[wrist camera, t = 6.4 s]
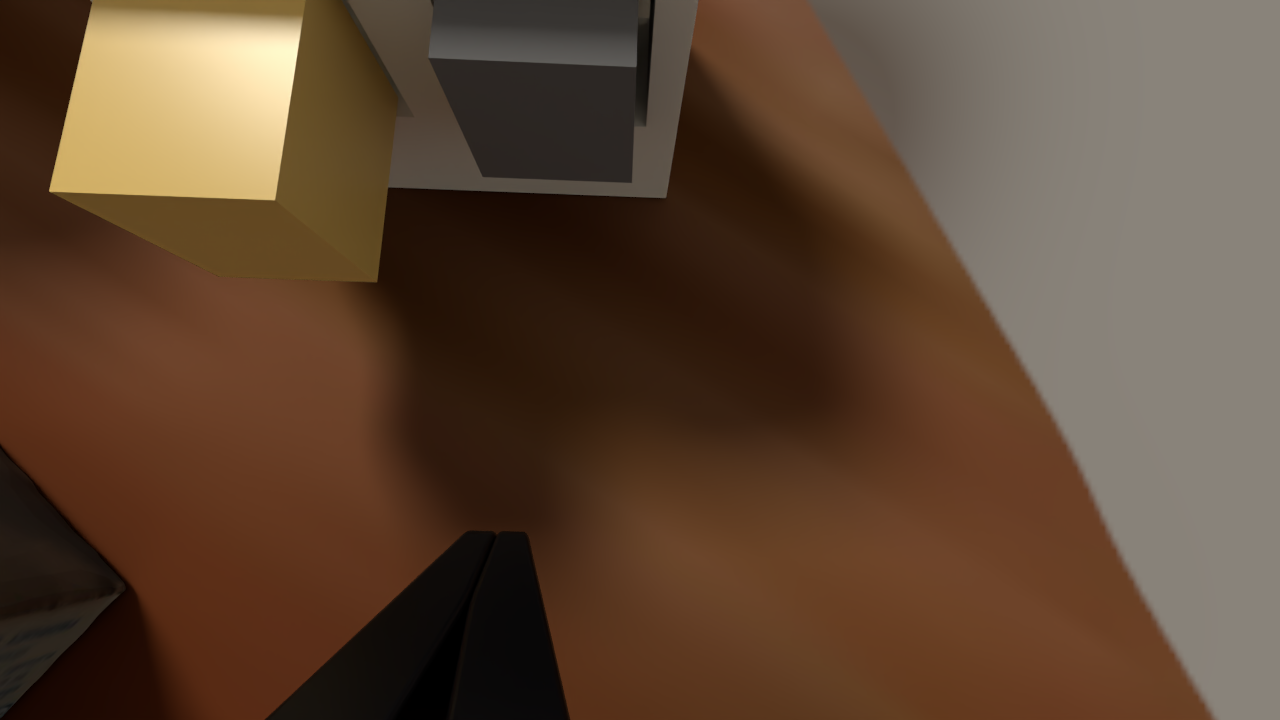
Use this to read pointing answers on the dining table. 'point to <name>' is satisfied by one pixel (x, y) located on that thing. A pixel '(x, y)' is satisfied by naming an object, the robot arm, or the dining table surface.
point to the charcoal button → (541, 84)
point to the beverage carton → (42, 584)
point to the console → (433, 141)
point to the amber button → (233, 135)
